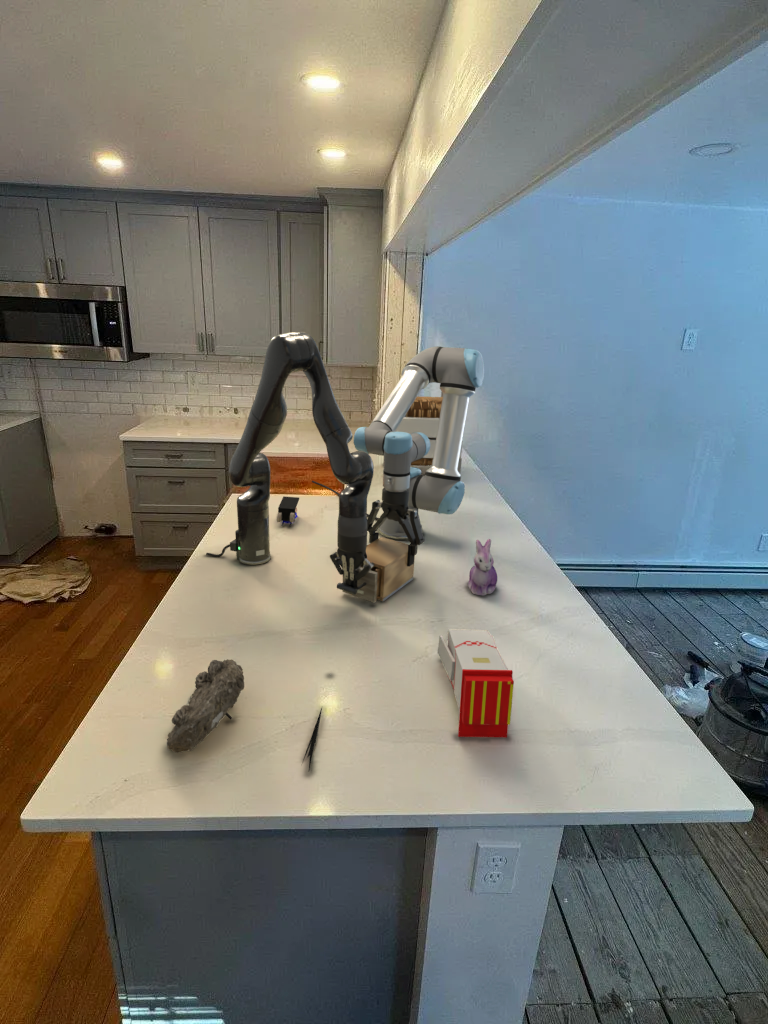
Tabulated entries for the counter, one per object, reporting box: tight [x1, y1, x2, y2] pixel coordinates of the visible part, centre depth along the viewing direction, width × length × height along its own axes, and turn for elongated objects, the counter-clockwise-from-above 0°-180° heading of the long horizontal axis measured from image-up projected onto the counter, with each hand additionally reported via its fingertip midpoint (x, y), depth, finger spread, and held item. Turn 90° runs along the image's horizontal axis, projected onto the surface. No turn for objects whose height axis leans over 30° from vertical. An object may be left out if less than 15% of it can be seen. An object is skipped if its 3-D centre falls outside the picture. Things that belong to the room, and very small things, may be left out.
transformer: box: [383, 391, 464, 475], centre depth 268 cm, size 34×33×41 cm
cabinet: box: [366, 536, 416, 602], centre depth 161 cm, size 17×12×10 cm
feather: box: [301, 673, 332, 771], centre depth 108 cm, size 2×28×2 cm
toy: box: [437, 628, 515, 738], centre depth 117 cm, size 12×13×30 cm
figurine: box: [467, 538, 498, 596], centre depth 160 cm, size 9×10×15 cm
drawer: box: [336, 563, 381, 603], centre depth 155 cm, size 22×10×8 cm, turn 148°
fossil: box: [166, 658, 245, 754], centre depth 106 cm, size 22×10×15 cm
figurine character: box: [276, 495, 300, 527], centre depth 205 cm, size 7×8×15 cm
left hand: (351, 590), depth 149 cm, fingers closed
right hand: (392, 559), depth 165 cm, fingers closed on cabinet, 12 cm apart
